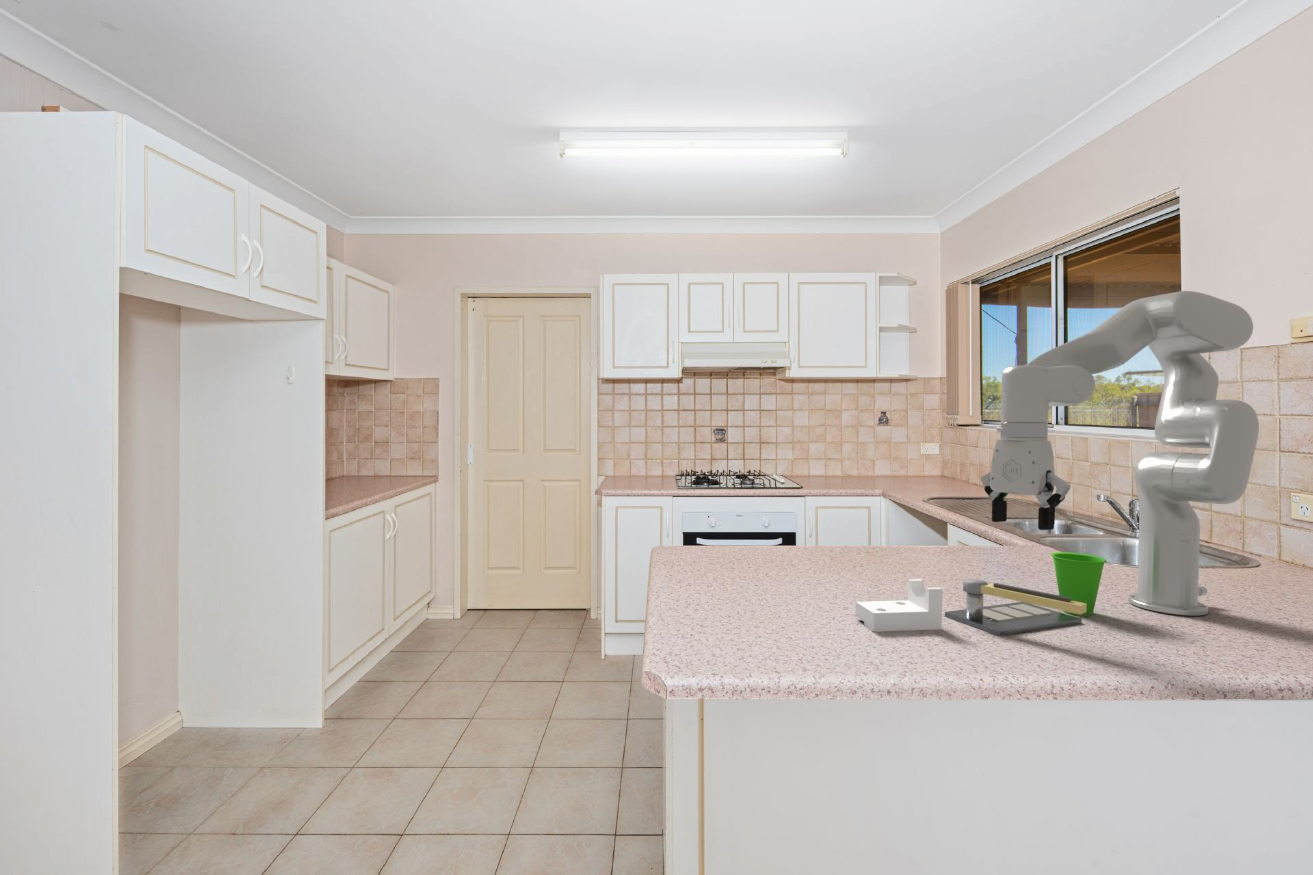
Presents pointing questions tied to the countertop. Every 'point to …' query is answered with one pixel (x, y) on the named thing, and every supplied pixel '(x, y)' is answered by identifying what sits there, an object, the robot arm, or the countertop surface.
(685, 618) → the countertop surface
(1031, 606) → the grey base plate
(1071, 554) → the cup
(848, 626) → the countertop surface
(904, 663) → the countertop surface
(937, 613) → the bracket
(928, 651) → the countertop surface
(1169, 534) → the robot arm
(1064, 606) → the swing arm
